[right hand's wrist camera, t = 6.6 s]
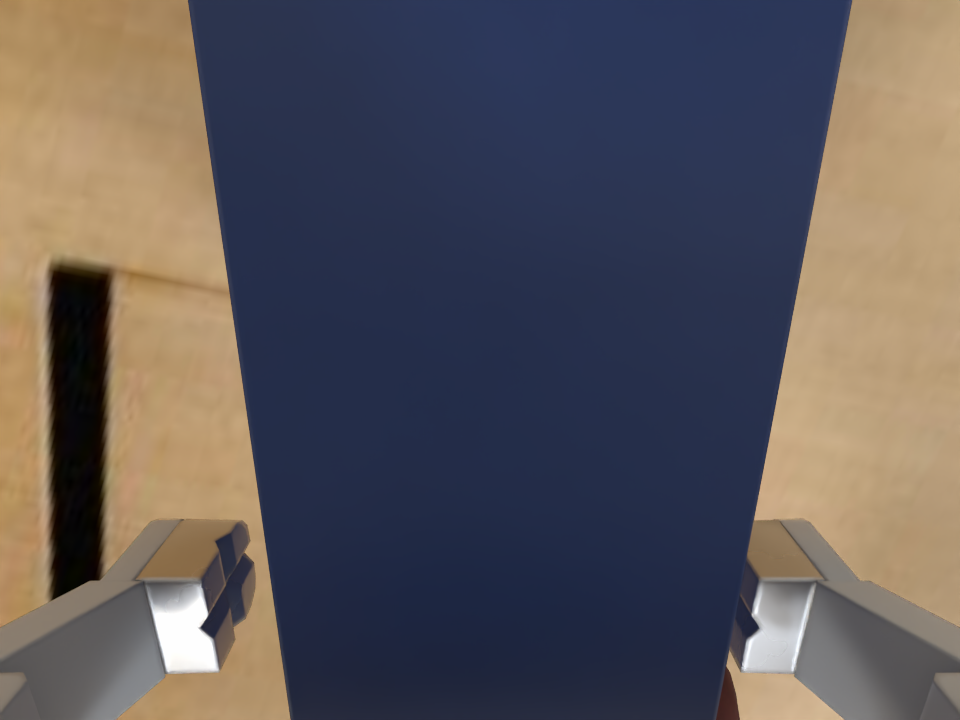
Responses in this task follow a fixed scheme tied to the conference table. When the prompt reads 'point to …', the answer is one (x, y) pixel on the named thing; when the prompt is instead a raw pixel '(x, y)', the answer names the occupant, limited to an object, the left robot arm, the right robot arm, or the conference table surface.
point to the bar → (512, 333)
